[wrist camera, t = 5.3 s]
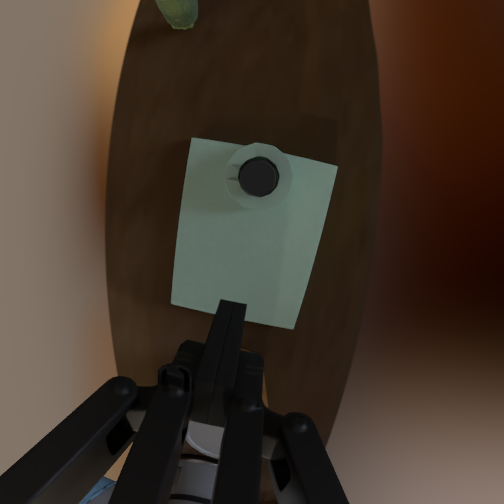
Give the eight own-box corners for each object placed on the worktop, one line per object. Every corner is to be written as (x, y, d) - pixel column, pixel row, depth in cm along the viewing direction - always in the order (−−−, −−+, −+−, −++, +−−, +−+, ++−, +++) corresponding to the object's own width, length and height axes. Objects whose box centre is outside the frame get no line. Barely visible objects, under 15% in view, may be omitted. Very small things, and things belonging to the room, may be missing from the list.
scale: (292, 323, 33) (294, 338, 30) (173, 299, 33) (165, 311, 30) (336, 161, 27) (343, 162, 24) (195, 133, 27) (187, 131, 24)
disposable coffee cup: (187, 352, 36) (160, 422, 24) (253, 326, 34) (244, 402, 22) (226, 398, 38) (213, 467, 27) (288, 378, 36) (290, 452, 25)
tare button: (272, 196, 26) (272, 199, 24) (238, 189, 26) (236, 192, 24) (278, 163, 25) (279, 164, 23) (245, 156, 25) (243, 157, 23)
